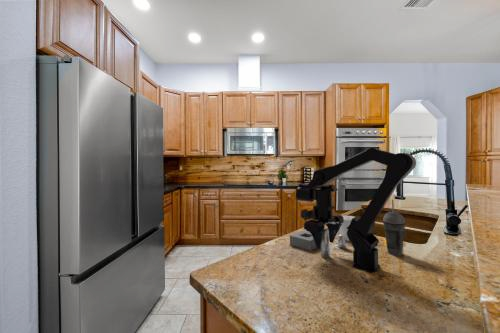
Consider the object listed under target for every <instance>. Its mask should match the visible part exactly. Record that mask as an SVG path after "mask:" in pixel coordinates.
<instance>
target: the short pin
mask: <svg viewBox="0 0 500 333" xmlns="http://www.w3.org/2000/svg"><path fill="white" fill-rule="evenodd" d="M337 236H338V237H337ZM336 237H337V248H338V249H341V250H342V249H344V250H345V249H346V247H347V246H346V242H347V241H346V239H345V235H344V234H338V235H336Z"/></svg>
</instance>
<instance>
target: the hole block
mask: <svg viewBox="0 0 500 333" xmlns="http://www.w3.org/2000/svg"><path fill="white" fill-rule="evenodd" d="M292 245H293V246H292ZM289 246H292V247H295V246H296V247H295V248H299V249H302V250H307V251H309V252H311V251H314V250H315V249H317V247H316V244H315V241H314V239H313V236H312V234H311V233H310V232H308V231H307V230H301V231H297V232H296V233H294V234H290V235H289Z"/></svg>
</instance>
